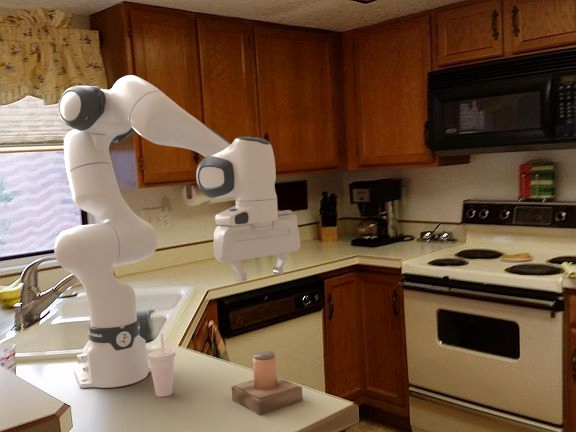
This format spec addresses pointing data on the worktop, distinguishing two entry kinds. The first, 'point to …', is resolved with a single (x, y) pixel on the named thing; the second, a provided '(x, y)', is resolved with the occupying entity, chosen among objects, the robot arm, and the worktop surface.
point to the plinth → (266, 396)
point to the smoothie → (162, 369)
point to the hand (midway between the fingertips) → (260, 277)
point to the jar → (265, 370)
